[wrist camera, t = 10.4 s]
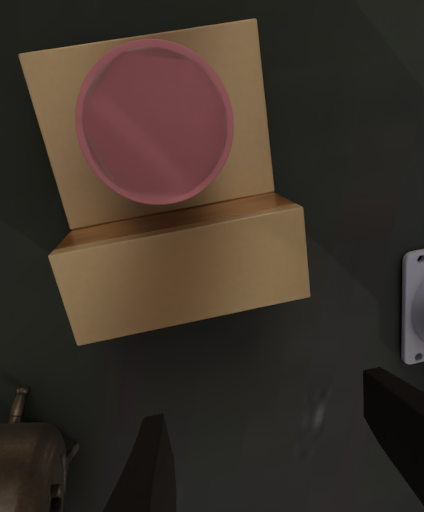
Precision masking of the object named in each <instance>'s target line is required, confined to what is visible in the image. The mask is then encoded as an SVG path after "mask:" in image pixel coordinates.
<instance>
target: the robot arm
mask: <svg viewBox="0 0 424 512" xmlns="http://www.w3.org/2000/svg"><path fill="white" fill-rule="evenodd" d="M419 256H421V259H420V260H419V261H418V258H419ZM417 354H418V355H417ZM416 355H417V356H416ZM401 358H402V360H403V361H404V362H405V363H406V364H414V363H419V362H423V361H424V249H420V250H415V251H410V252H408V253H406V254H405V255H404V257H403V261H402V339H401ZM363 391H364V417H365V419H366V421H367V423H368V425H369V427H370V429H371V430H372V432H373V434H374V436H375V437H376V439H377V441H378V443H379V444H380V446H381V447H382V448H383V450H384V451H385V453H386V454H387V456H388V457H389V458H390V460H391V461H392V462H393V464H394V465H395V467H396V468H397V469H398V471H399V472H400V474H401V475H402V476H403V478H404V479H405V480H406V482H407V483H408V485H409V486H410V487H411V489H412V490H413V491H414V493H415V494H416V496H417V497H418V498H419V500H420V501H421V502H422V504H423V505H424V392H423V391H421V390H419V389H417V388H415V387H414V386H412V385H410V384H409V383H407V382H405V381H403V380H402V379H400V378H398V377H396V376H395V375H393V374H391V373H390V372H388V371H386V370H384V369H382V368H380V367H377V368H372V369H368V370H363ZM103 512H176V480H175V468H174V458H173V453H172V449H171V445H170V441H169V437H168V432H167V428H166V424H165V420H164V416H163V413H162V414H158V415H153V416H148V417H145V418H144V419H143V421H142V424H141V428H140V431H139V433H138V436H137V439H136V442H135V444H134V447H133V449H132V452H131V454H130V456H129V459H128V461H127V463H126V466H125V468H124V470H123V472H122V475H121V477H120V479H119V481H118V483H117V485H116V487H115V489H114V491H113V493H112V495H111V497H110V499H109V501H108V503H107V504H106V506H105V508H104V510H103Z"/></svg>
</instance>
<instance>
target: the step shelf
mask: <svg viewBox="0 0 424 512" xmlns="http://www.w3.org/2000/svg"><path fill="white" fill-rule="evenodd" d="M140 39H161V40H166V41H171V42H174V43H177V44H179V45H182V46H184V47H186V48H188V49H190V50H192V51H193V52H195V53H196V54H197V55H199V56H200V57H202V58H203V59H204V60H205V61H206V62H207V63H208V64H209V65H210V66H211V67H212V68H213V70H214V71H215V72H216V73H217V75H218V76H219V78H220V80H221V81H222V83H223V85H224V87H225V89H226V91H227V93H228V96H229V99H230V102H231V106H232V112H233V120H234V132H233V140H232V146H231V149H230V152H229V156H228V158H227V160H226V162H225V165H224V166H223V168H222V170H221V171H220V173H219V174H218V175H217V177H216V178H215V179H214V180H213V181H212V182H211V183H210V184H209V185H208V186H207V187H206V188H205V189H204V190H202V191H201V192H200V193H198V194H196V195H195V196H193V197H191V198H189V199H186V200H184V201H181V202H177V203H173V204H166V205H151V204H143V203H140V202H136V201H133V200H130V199H128V198H125V197H123V196H121V195H120V194H118V193H116V192H115V191H113V190H112V189H111V188H109V187H108V186H107V185H106V184H104V183H103V182H102V181H101V180H100V179H99V178H98V176H97V175H96V174H95V173H94V172H93V170H92V169H91V167H90V166H89V164H88V163H87V161H86V159H85V157H84V155H83V153H82V150H81V147H80V144H79V141H78V137H77V132H76V122H75V114H76V104H77V99H78V95H79V92H80V89H81V86H82V84H83V82H84V80H85V78H86V76H87V74H88V73H89V71H90V70H91V68H92V67H93V66H94V65H95V64H96V63H97V61H98V60H99V59H100V58H101V57H103V56H104V55H105V54H106V53H108V52H109V51H111V50H112V49H114V48H116V47H118V46H120V45H122V44H125V43H127V42H131V41H135V40H140ZM19 60H20V63H21V66H22V70H23V73H24V76H25V80H26V83H27V86H28V90H29V93H30V96H31V100H32V103H33V106H34V110H35V113H36V117H37V120H38V123H39V127H40V130H41V133H42V137H43V140H44V143H45V147H46V150H47V153H48V157H49V160H50V163H51V167H52V170H53V173H54V177H55V180H56V183H57V187H58V190H59V193H60V197H61V200H62V203H63V207H64V210H65V214H66V217H67V220H68V224H69V227H70V229H71V231H70V233H69V234H68V235H67V236H66V237H65V238H64V239H63V240H62V242H61V243H60V244H59V245H58V246H57V247H56V248H55V250H53V251H52V252H51V253H50V254H49V256H48V258H49V261H50V264H51V267H52V270H53V273H54V276H55V279H56V282H57V285H58V288H59V291H60V294H61V297H62V300H63V304H64V307H65V310H66V313H67V316H68V319H69V322H70V325H71V328H72V331H73V334H74V337H75V340H76V343H77V345H78V346H80V345H85V344H89V343H94V342H99V341H103V340H108V339H113V338H118V337H122V336H127V335H132V334H137V333H141V332H146V331H151V330H156V329H160V328H165V327H170V326H175V325H179V324H184V323H189V322H194V321H198V320H203V319H208V318H212V317H217V316H222V315H227V314H231V313H236V312H241V311H246V310H250V309H255V308H260V307H265V306H269V305H274V304H279V303H284V302H288V301H293V300H298V299H303V298H307V297H310V287H309V274H308V261H307V249H306V236H305V223H304V211H303V207H302V206H300V205H298V204H295V203H293V202H291V201H289V200H287V199H286V198H284V197H282V196H280V195H278V194H276V193H274V180H273V170H272V161H271V151H270V141H269V132H268V122H267V113H266V103H265V93H264V84H263V74H262V64H261V55H260V45H259V35H258V26H257V20H256V19H255V18H254V19H248V20H241V21H234V22H228V23H221V24H214V25H208V26H201V27H194V28H188V29H181V30H174V31H167V32H161V33H154V34H147V35H141V36H134V37H127V38H121V39H114V40H107V41H101V42H94V43H87V44H81V45H74V46H67V47H61V48H54V49H47V50H41V51H34V52H27V53H21V54H19Z"/></svg>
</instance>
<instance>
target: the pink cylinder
mask: <svg viewBox="0 0 424 512" xmlns="http://www.w3.org/2000/svg"><path fill="white" fill-rule="evenodd" d="M75 122H76V132H77V137H78V141H79V144H80V147H81V150H82V153H83V155H84V157H85V159H86V161H87V163H88V164H89V166H90V167H91V169H92V170H93V172H94V173H95V174H96V175H97V176H98V178H99V179H100V180H101V181H102V182H103V183H104V184H106V185H107V186H108V187H109V188H111V189H112V190H113V191H115V192H116V193H118V194H120V195H121V196H123V197H125V198H128V199H130V200H133V201H136V202H140V203H143V204H151V205H166V204H173V203H177V202H181V201H184V200H186V199H189V198H191V197H193V196H195V195H196V194H198V193H200V192H201V191H202V190H204V189H205V188H206V187H207V186H208V185H209V184H210V183H211V182H212V181H213V180H214V179H215V178H216V177H217V175H218V174H219V173H220V171H221V170H222V168H223V166H224V165H225V162H226V160H227V158H228V156H229V152H230V149H231V146H232V140H233V132H234V120H233V112H232V106H231V102H230V99H229V96H228V93H227V91H226V89H225V87H224V85H223V83H222V81H221V80H220V78H219V76H218V75H217V73H216V72H215V71H214V70H213V68H212V67H211V66H210V65H209V64H208V63H207V62H206V61H205V60H204V59H203V58H202V57H200V56H199V55H197V54H196V53H195V52H193V51H192V50H190V49H188V48H186V47H184V46H182V45H179V44H177V43H174V42H171V41H166V40H161V39H140V40H135V41H131V42H127V43H125V44H122V45H120V46H118V47H116V48H114V49H112V50H111V51H109V52H108V53H106V54H105V55H104V56H103V57H101V58H100V59H99V60H98V61H97V63H96V64H95V65H94V66H93V67H92V68H91V70H90V71H89V73H88V74H87V76H86V78H85V80H84V82H83V84H82V86H81V89H80V92H79V95H78V99H77V104H76V114H75Z"/></svg>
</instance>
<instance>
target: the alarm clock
mask: <svg viewBox="0 0 424 512" xmlns="http://www.w3.org/2000/svg"><path fill="white" fill-rule="evenodd" d="M16 393H17V396H16V398H15V400H14V402H13V404H12V408H11V412H10V417H9V421H8V423H7V424H0V512H64V509H65V497H66V480H67V478H68V469H69V465H68V464H69V462H70V461H71V459H72V458H73V456H74V455H75V454H76V452H77V451H78V450H79V443H78V444H76V445H74V447H73V448H72V449H71V450H70V451H68V452H67V453H66V447H65V442H64V439H63V437H62V435H61V433H60V431H59V430H58V429H57V428H56V427H55V426H53V425H51V424H49V423H47V422H36V423H23V415H24V408H25V400H24V396H25V395H26V394H27V393H28V387H27V386H26V385H22V386H18V387H17V389H16Z"/></svg>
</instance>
